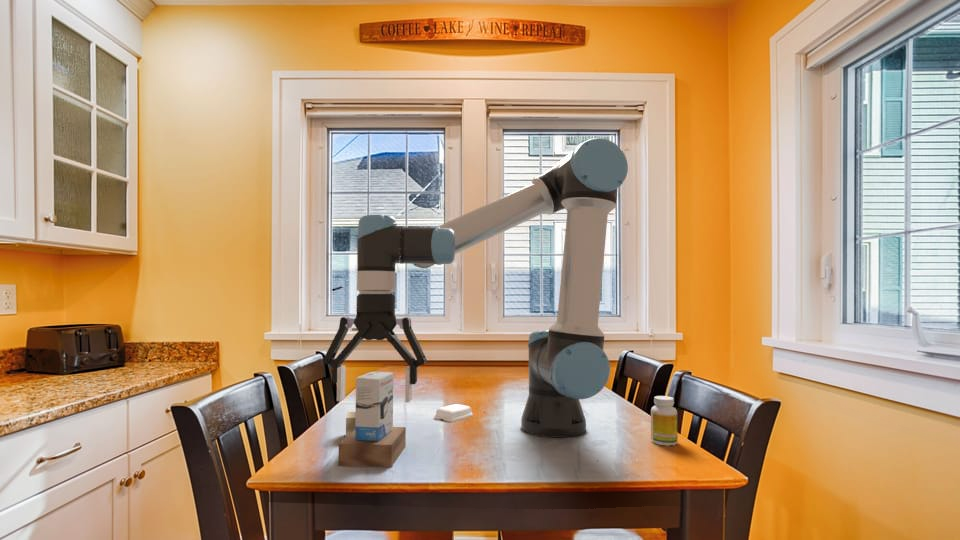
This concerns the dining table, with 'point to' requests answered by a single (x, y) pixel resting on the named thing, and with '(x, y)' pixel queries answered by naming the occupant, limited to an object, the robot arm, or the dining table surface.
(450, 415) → the soap
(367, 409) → the ink box
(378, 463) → the walnut block
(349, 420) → the maple cube
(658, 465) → the dining table surface
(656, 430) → the supplement bottle
